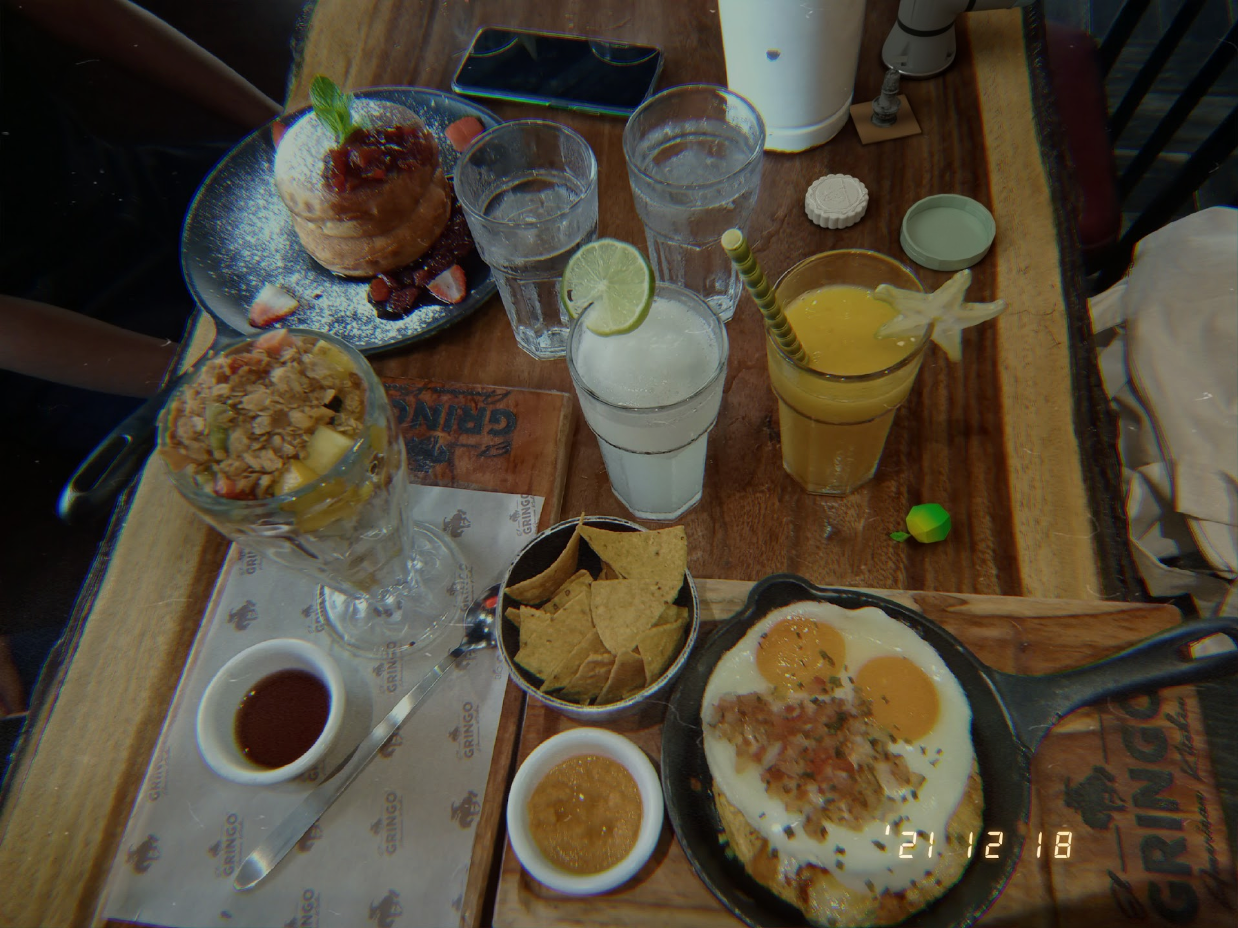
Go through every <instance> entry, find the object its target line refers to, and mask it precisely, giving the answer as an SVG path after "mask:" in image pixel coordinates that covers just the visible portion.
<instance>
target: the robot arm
mask: <svg viewBox="0 0 1238 928" xmlns="http://www.w3.org/2000/svg"><path fill="white" fill-rule="evenodd" d="M1036 1H1037V0H900V2H899V7H898V12H897V16H896V21H895V22H894V25H893V27H892V28H891V30H890V32H889V34H888V36H887V37H886V39H885V41H884V43H883V46H882V49H881V55H880V60H881V64H882V66H883V68H884V69H885V70H886V72H887V71H888V70H890V69H892V68H893V67H895V68H896V69H897V70H899V72H900V79H906V80H909V81H922V80H929V79H932V78H935V77H938V76H940V75H942V74H944V73H945V72H946V71H948V69H950V67H951V66H952V64H953V63H954V59H955V56H956V53H957V51H956V50H957V41H956V31H955V22H956V19H957V15H958V14H961V13H972V12H974V13H975V12H982V11H984V12H985V11H996V10H1013V9H1015V8H1022V7H1028V6H1030V5H1032V4H1034V3H1035V2H1036Z"/></svg>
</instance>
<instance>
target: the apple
mask: <svg viewBox="0 0 1238 928" xmlns="http://www.w3.org/2000/svg"><path fill="white" fill-rule="evenodd" d="M905 523H906V528H907V531H908V532H909V534H908V533H905V532H903V531H901V530H896V531H894V532H892V533H891V534H889V537H891V539H893V540H894V541H896V542H897V543H903V542H904V541H905V540H907V539H908V538H910V537H911V536H912V537H913V538H914V539H915V540H916V541H917V542H918V543H925V544H930V543H935V542H940V541H944V540H946V538H947V536H948V534H949V532H950V530H951V529H952V527H953V526H952V520H951V515H950V514H949V513H948V512H947V511H946V509H944V507H942V505H940V503H931V502H929V503H924V504H919V505H913V506H912V508H911V509H910V511H909V513H908V514H907V516H906V518H905Z"/></svg>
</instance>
